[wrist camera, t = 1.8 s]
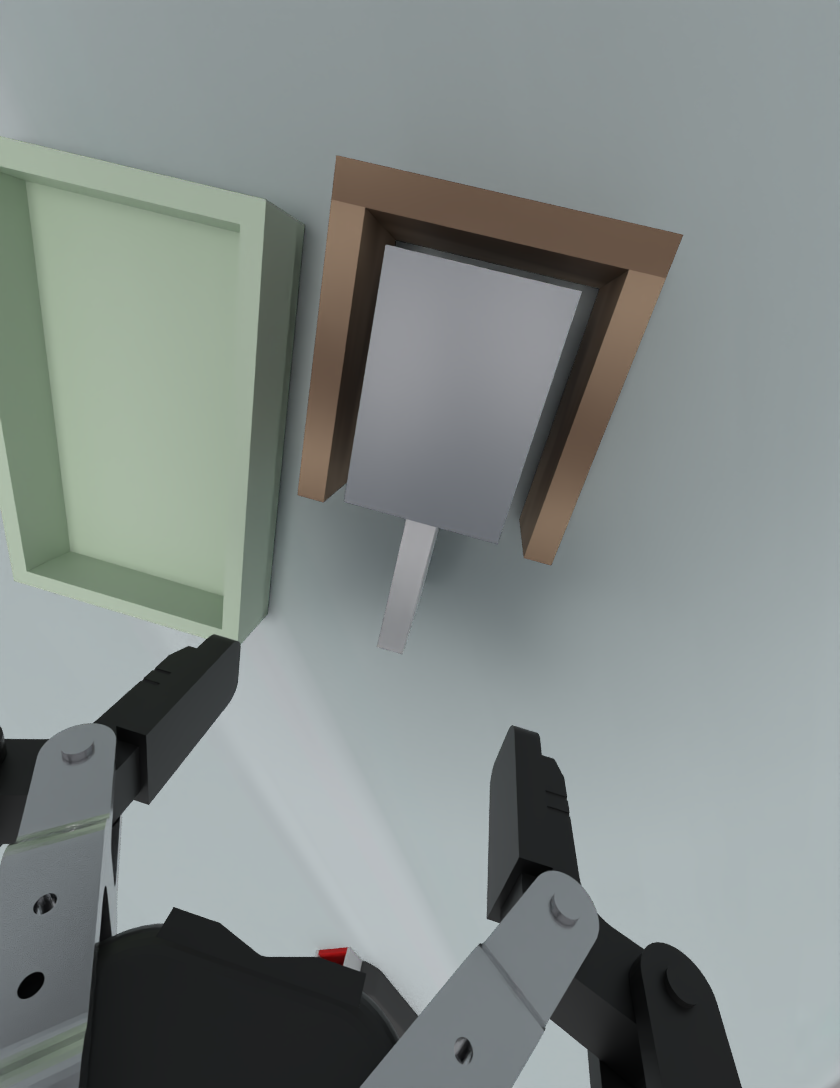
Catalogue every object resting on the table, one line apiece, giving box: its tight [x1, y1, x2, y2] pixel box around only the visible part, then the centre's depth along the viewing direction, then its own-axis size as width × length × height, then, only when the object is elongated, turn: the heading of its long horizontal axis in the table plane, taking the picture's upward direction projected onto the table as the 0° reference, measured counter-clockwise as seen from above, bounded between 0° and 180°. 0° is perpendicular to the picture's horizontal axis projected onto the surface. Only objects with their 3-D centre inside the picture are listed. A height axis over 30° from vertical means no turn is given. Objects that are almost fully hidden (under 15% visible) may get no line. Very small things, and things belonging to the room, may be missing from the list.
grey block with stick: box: [344, 245, 582, 654], centre depth 16 cm, size 12×5×6 cm, turn 167°
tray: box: [0, 136, 305, 645], centre depth 19 cm, size 18×12×3 cm, turn 167°
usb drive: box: [315, 947, 418, 1038], centre depth 37 cm, size 5×12×3 cm, turn 27°
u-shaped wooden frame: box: [298, 155, 683, 565], centre depth 16 cm, size 10×10×4 cm
